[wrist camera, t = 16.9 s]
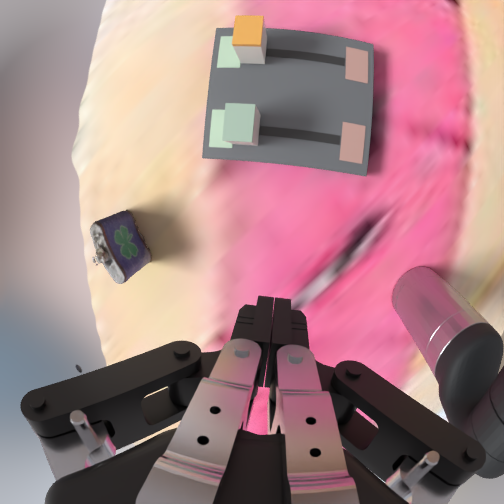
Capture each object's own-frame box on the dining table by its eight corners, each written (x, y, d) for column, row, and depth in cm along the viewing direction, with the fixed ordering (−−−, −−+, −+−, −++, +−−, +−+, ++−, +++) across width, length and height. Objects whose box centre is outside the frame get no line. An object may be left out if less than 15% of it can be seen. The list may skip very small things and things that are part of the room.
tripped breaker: (267, 38, 28) (263, 15, 21) (264, 64, 29) (260, 44, 23) (243, 37, 28) (235, 15, 22) (240, 63, 29) (231, 44, 23)
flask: (155, 259, 43) (121, 287, 33) (141, 265, 43) (106, 293, 33) (130, 206, 41) (89, 222, 30) (117, 214, 41) (75, 231, 31)
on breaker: (260, 114, 31) (255, 104, 25) (257, 145, 33) (251, 142, 26) (236, 113, 31) (225, 103, 25) (233, 144, 33) (222, 140, 27)
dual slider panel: (367, 51, 29) (373, 44, 26) (360, 175, 35) (366, 176, 32) (221, 36, 31) (216, 27, 28) (208, 158, 37) (202, 158, 34)
